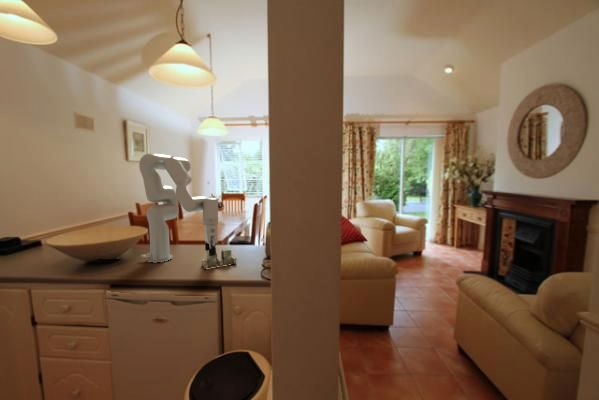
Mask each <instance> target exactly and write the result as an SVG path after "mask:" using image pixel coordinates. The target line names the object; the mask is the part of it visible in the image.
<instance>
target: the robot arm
mask: <svg viewBox="0 0 599 400" xmlns="http://www.w3.org/2000/svg"><path fill="white" fill-rule="evenodd" d="M191 165H192V164H191V163H190V161H189V160H188V159H186V158H184V157H179V156H174V155H169V154H160V153H146V154H143V155H142V156H141V158H140V159H139V163H138V167H139V168H138V169H139V171H140V174H141V176H142V179H143V184H144V191H145V195H146V196H145V197H146V198H147V201H148V202H150V203H152V204H153V203H154V204H155V203H161V204H155V205H151V206H150V207H148V208H147V209H146V219H147V223H148V228H149V229H148V231H149V247H150V251H149V253H146V254H141V255H140V258H141V259H143V260H144V259H147V262H148V263H150V262H153V263H152V264H157V262H160V263H164V261H165V262H168V260H169V261H171V260H172V259H173V258H174V256H173V255H172V254H171V253H170V229H169V225H168V224H167V222H166V221H168V220H173V219H176V218H177V217H179V214H180V213H179V212H180V211H179V210H180V209H179V205H180V206H181V207H182V209H183V210H184V211H186V212H187V213H193V212H199V211H200V212H201V211H202V225H204V241H205V242H204V243H205V245H204V246H205V248H204V249H205V251H206V252H207V251H209V256H214V255H216V253H217V250H216V249H217V244H218V242H219V241H218V239H219V237H218V224H219V200H218V198H216V197H207V196H202V195H200V196H191V194H190V193H189V192H188V190H187V189H188V188H187V186H189V185H190V184H191V183H192V180H193V178H192V177H191V175H190V174H189V172H190V171H191V168H192V167H191ZM157 170H162V171H163V170H165V171H166V172H167V174H168V176H170V178H171V179H172V181H173V182H174V184H175V189H174V188H173V187H172V186H170V185H163V183H162V178H161V176H160V174H159V173H158V171H157ZM178 204H179V205H178ZM170 259H171V260H170Z"/></svg>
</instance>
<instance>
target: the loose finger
mask: <svg viewBox="0 0 599 400" xmlns="http://www.w3.org/2000/svg"><path fill="white" fill-rule="evenodd" d="M217 257H218V252H216V255H214V256H209V250H208V251H206V261H207V263H208V266H214V265H216V261H217Z"/></svg>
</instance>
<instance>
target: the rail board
mask: <svg viewBox="0 0 599 400" xmlns="http://www.w3.org/2000/svg"><path fill="white" fill-rule="evenodd" d="M220 253H221V255H220V256H221V257H220V256H217V261H216V265H214V266H208V263H207V259H205V258H202V259H201V266H202V265H203V266H202V268H203V267H204V268H205V269H206V268H211V267H217V266H223V265H229V264H236V263H237V262H238V261H237V257H235V256H234V254H232V249H231V248H229V247H227V248H221V252H220ZM204 268H203V269H204Z"/></svg>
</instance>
